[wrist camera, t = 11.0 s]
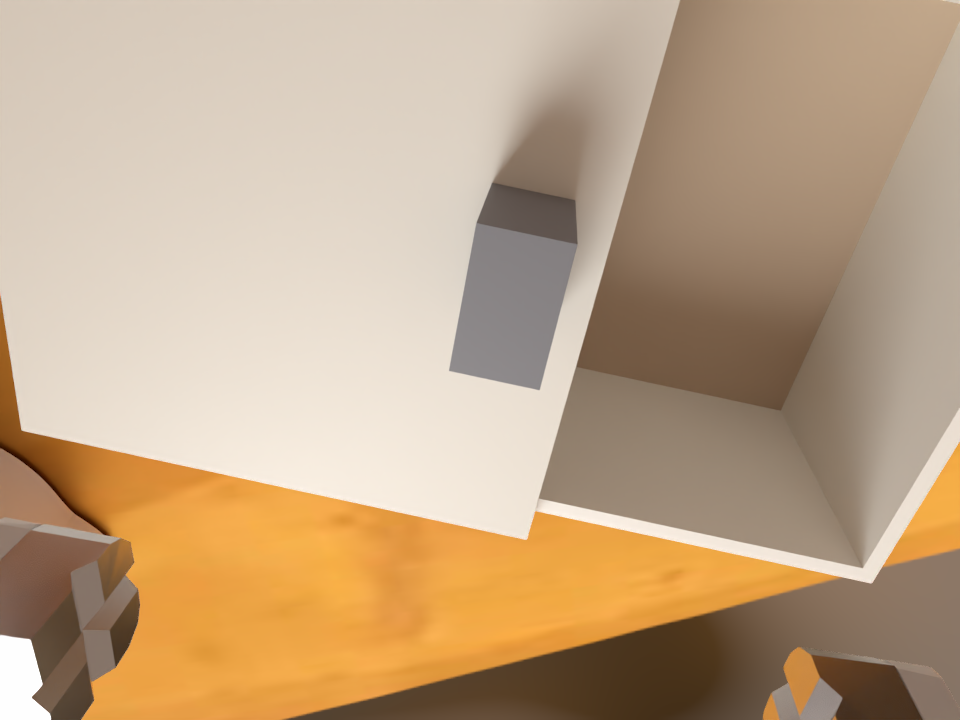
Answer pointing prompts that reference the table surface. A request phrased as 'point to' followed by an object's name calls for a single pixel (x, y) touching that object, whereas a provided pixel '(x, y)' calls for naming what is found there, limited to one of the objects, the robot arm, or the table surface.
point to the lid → (317, 233)
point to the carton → (779, 290)
